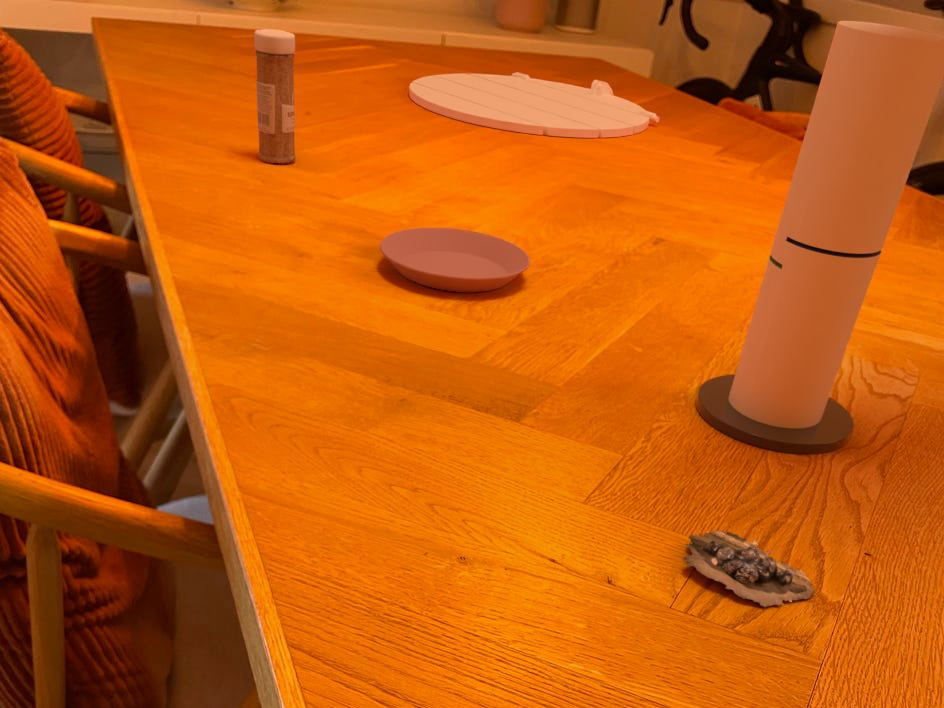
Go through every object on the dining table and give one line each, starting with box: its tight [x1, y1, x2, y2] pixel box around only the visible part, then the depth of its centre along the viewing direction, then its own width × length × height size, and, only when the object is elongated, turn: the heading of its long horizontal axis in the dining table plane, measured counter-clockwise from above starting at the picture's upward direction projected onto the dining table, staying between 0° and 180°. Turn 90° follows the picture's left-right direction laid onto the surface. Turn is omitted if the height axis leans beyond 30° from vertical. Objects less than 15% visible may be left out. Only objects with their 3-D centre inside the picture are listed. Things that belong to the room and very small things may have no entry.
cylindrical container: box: [729, 20, 944, 429], centre depth 68 cm, size 7×7×25 cm
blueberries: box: [682, 530, 817, 608], centre depth 58 cm, size 7×8×2 cm
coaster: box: [695, 373, 855, 455], centre depth 76 cm, size 12×12×1 cm
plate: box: [379, 227, 531, 293], centre depth 94 cm, size 14×14×2 cm
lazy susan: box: [408, 71, 661, 139], centre depth 160 cm, size 40×39×3 cm
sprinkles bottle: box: [253, 28, 297, 165], centre depth 116 cm, size 5×5×14 cm
